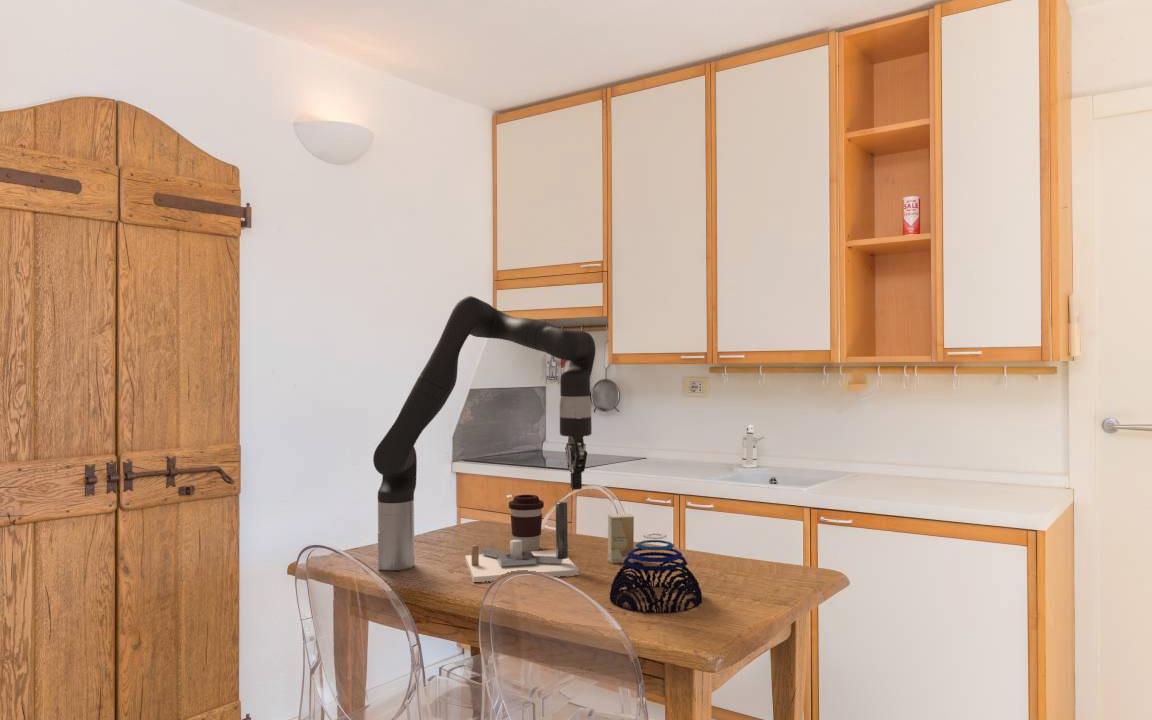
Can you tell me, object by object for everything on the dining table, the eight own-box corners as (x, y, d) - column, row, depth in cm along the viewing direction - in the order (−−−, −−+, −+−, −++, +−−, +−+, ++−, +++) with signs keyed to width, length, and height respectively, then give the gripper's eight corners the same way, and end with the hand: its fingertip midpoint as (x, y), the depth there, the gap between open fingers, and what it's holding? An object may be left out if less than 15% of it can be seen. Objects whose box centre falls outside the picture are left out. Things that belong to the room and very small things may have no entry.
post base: (473, 583, 193) (473, 553, 193) (465, 561, 214) (465, 534, 214) (578, 575, 198) (578, 547, 198) (560, 554, 220) (560, 529, 220)
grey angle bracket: (488, 568, 198) (487, 507, 198) (480, 552, 215) (480, 496, 215) (569, 563, 203) (568, 503, 203) (555, 548, 220) (555, 492, 220)
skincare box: (611, 564, 210) (610, 517, 210) (607, 560, 214) (606, 514, 214) (634, 562, 211) (634, 516, 211) (630, 558, 215) (630, 513, 215)
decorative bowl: (591, 600, 178) (590, 535, 178) (649, 582, 192) (649, 522, 192) (661, 620, 164) (660, 550, 164) (718, 599, 178) (717, 534, 178)
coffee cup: (528, 555, 220) (528, 500, 220) (501, 550, 226) (501, 497, 226) (551, 548, 228) (550, 495, 228) (524, 543, 234) (524, 492, 234)
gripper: (554, 414, 195) (555, 485, 195) (565, 417, 182) (566, 494, 182) (584, 413, 197) (585, 484, 197) (597, 416, 183) (598, 492, 183)
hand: (576, 488), depth 189 cm, fingers closed
